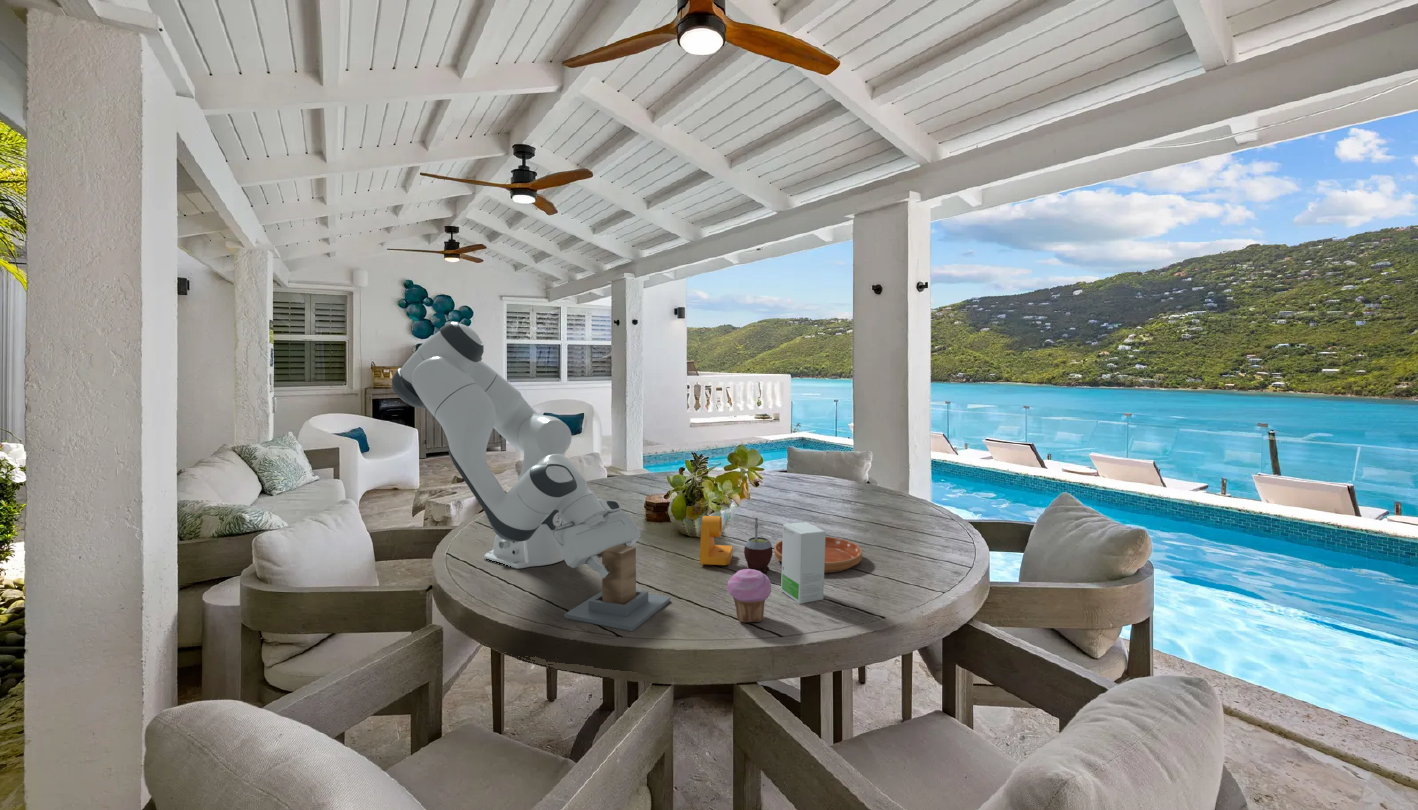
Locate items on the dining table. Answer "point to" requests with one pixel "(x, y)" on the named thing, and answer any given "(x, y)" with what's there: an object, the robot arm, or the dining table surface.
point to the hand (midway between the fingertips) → (620, 569)
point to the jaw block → (619, 574)
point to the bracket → (707, 547)
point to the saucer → (834, 554)
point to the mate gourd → (758, 552)
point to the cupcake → (749, 594)
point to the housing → (618, 611)
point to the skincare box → (803, 562)
